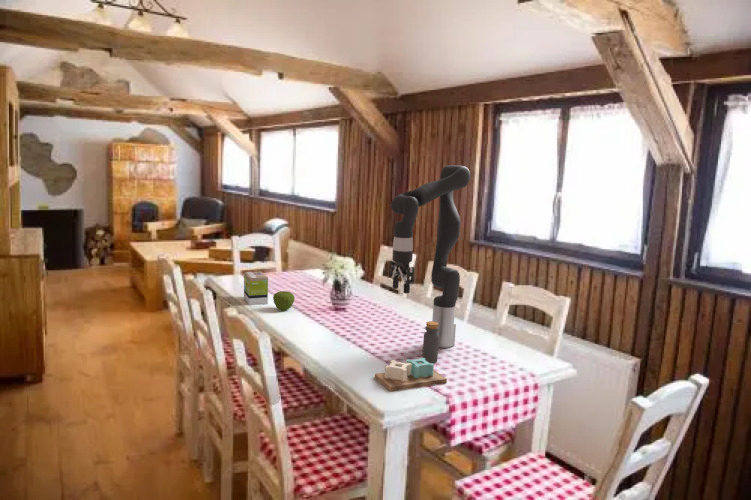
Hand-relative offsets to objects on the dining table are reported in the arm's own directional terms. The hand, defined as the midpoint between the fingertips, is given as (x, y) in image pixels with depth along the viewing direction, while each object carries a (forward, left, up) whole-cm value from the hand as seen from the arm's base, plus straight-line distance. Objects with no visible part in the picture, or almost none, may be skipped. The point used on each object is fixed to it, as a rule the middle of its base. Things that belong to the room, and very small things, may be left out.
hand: (400, 290), depth 201 cm
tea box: (+32, -99, -27) cm, 108 cm away
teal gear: (+2, +20, -25) cm, 32 cm away
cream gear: (+10, +21, -25) cm, 34 cm away
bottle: (-11, +7, -27) cm, 30 cm away
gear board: (+6, +22, -27) cm, 35 cm away
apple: (+23, -78, -27) cm, 86 cm away
